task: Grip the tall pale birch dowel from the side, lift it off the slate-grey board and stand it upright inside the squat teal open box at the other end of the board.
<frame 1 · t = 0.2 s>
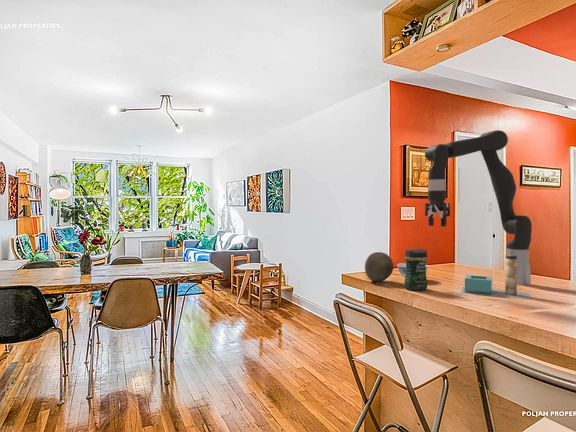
hand: (437, 226, 167), 29 cm above the table, tool pointing down, fingers open, 8 cm apart
teal open box: (478, 293, 161), resting on board
board: (494, 295, 158), on the table
coffee jar: (416, 289, 171), on the table
chinaware: (412, 280, 193), on the table
dowel: (511, 294, 154), point 1 cm above the table, touching board
dark grey ball: (379, 282, 188), on the table
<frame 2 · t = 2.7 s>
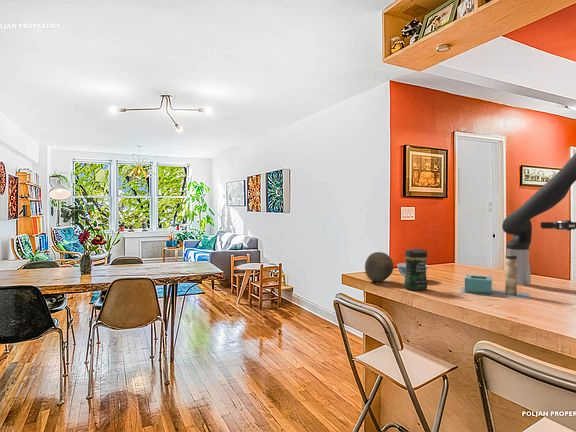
hand: (540, 225, 149), 30 cm above the table, tool horizontal, fingers open, 8 cm apart
nothing on the table moved.
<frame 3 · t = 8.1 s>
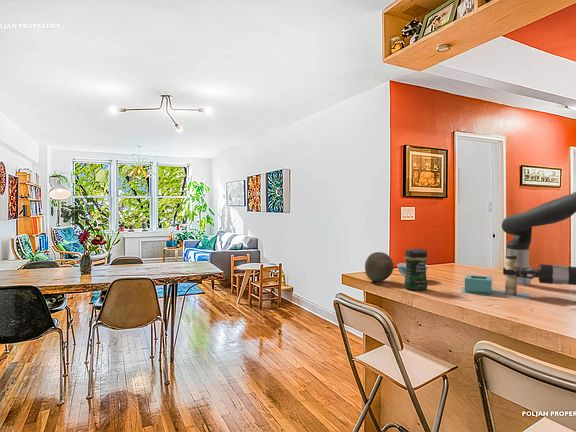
hand: (503, 271, 156), 10 cm above the table, tool horizontal, fingers closed on dowel, 4 cm apart
dowel: (511, 294, 154), point 1 cm above the table, touching board, gripper
everything else where it was.
when the fingers open (13 cm above the table, at t = 13.9 s): dowel drops 1 cm, resting on teal open box.
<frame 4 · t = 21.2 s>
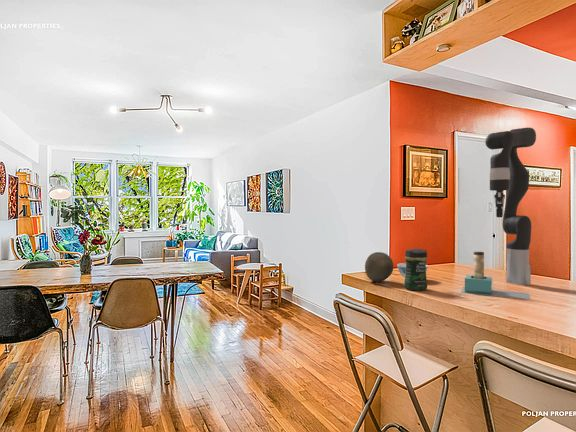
hand: (499, 217, 158), 33 cm above the table, tool pointing down, fingers open, 8 cm apart
dowel: (478, 289, 161), point 2 cm above the table, touching teal open box
everything else where it was.
at the end: dowel 0.0 cm off-centre on the teal open box, point 2.0 cm above the teal open box's base; dowel tilted 0°; the gripper is holding nothing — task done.
